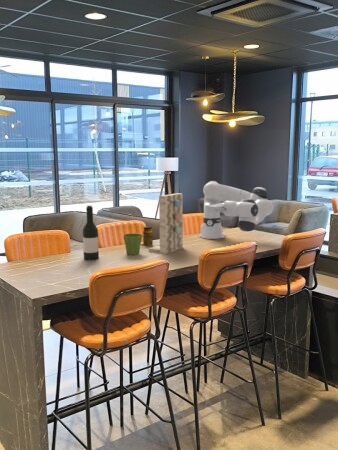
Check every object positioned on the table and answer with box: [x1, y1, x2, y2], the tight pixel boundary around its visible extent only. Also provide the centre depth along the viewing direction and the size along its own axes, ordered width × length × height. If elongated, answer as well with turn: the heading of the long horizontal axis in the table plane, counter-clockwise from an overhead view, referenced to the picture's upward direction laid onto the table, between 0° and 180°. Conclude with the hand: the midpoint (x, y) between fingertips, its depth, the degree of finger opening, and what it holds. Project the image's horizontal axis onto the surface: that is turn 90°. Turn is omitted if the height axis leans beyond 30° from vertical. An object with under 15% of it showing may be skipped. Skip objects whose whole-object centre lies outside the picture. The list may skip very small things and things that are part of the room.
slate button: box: [173, 200, 182, 207], centre depth 260 cm, size 4×6×4 cm
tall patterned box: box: [148, 192, 184, 255], centre depth 265 cm, size 20×12×34 cm, turn 148°
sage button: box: [173, 226, 182, 234], centre depth 263 cm, size 4×6×4 cm
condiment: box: [140, 225, 155, 248], centre depth 281 cm, size 7×8×12 cm
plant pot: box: [122, 232, 143, 256], centre depth 257 cm, size 12×12×11 cm
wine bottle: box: [82, 205, 100, 261], centre depth 244 cm, size 8×8×30 cm
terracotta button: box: [173, 213, 182, 221], centre depth 261 cm, size 4×6×4 cm
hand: (207, 206), depth 256 cm, fingers closed
